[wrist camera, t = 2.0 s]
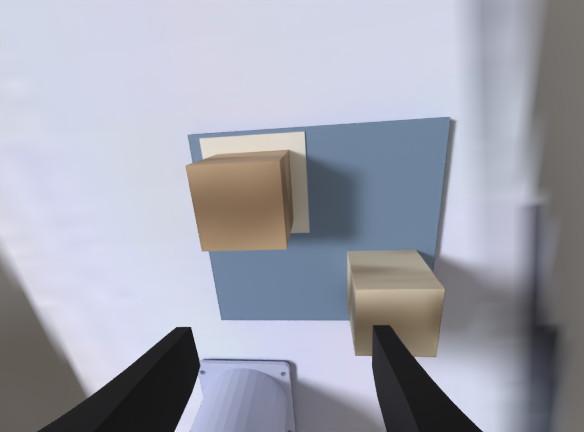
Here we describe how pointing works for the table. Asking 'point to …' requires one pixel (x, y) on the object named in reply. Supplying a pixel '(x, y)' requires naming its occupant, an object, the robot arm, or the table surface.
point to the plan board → (333, 212)
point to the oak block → (242, 200)
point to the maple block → (394, 299)
